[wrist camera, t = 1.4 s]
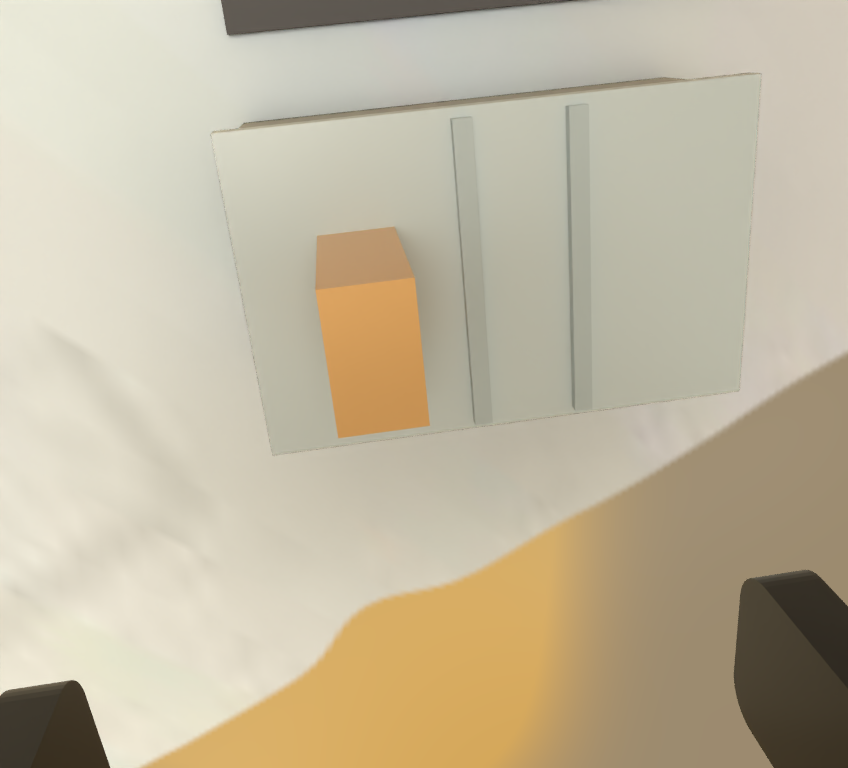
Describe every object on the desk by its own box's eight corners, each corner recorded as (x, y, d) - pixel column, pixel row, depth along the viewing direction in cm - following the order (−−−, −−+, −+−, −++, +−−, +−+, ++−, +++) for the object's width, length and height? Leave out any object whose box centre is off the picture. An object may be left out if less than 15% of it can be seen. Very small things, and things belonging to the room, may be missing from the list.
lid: (733, 71, 26) (889, 81, 19) (716, 372, 30) (839, 473, 23) (217, 128, 25) (175, 160, 18) (275, 432, 29) (259, 558, 22)
